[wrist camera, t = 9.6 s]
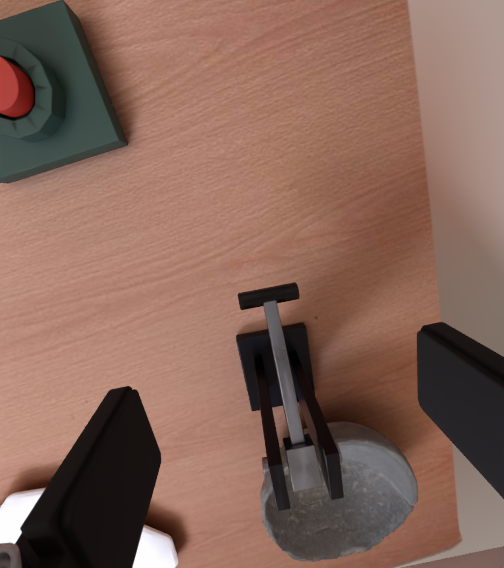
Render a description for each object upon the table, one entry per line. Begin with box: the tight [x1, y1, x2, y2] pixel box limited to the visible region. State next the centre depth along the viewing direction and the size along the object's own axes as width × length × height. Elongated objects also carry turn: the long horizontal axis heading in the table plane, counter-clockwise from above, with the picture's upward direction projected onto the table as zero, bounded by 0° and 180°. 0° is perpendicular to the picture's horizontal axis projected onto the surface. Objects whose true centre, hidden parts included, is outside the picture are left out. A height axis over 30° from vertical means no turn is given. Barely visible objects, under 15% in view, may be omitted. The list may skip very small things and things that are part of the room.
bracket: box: [236, 323, 344, 511], centre depth 27 cm, size 10×8×15 cm
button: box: [0, 57, 35, 117], centre depth 20 cm, size 4×4×2 cm
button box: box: [0, 0, 128, 183], centre depth 23 cm, size 12×10×4 cm
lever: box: [238, 282, 323, 492], centre depth 22 cm, size 15×5×2 cm, turn 10°
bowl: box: [260, 421, 418, 562], centre depth 34 cm, size 18×18×8 cm
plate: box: [0, 488, 179, 568], centre depth 40 cm, size 25×25×2 cm
